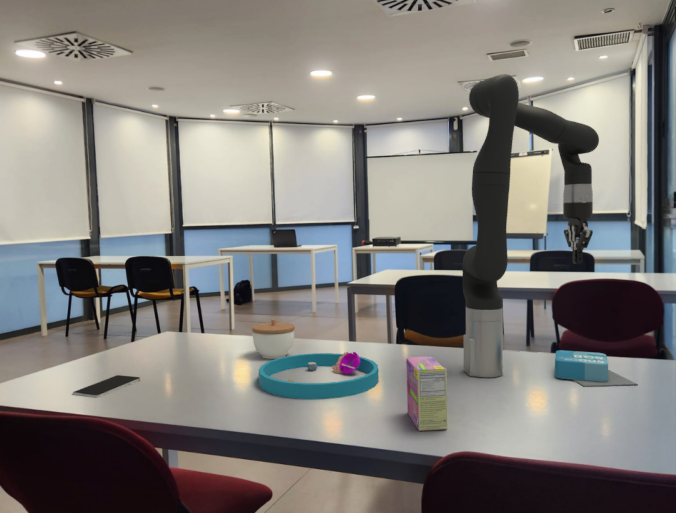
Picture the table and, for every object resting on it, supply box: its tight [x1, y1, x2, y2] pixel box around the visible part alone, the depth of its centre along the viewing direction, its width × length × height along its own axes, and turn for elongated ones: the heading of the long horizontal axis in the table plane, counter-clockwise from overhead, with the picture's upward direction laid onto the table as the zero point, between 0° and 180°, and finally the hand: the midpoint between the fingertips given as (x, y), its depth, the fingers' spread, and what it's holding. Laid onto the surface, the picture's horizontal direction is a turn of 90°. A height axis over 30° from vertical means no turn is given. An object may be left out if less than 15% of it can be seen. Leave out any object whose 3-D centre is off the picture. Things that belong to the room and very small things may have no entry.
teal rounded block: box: [554, 349, 609, 382], centre depth 141 cm, size 12×4×12 cm
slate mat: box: [572, 369, 638, 388], centre depth 138 cm, size 13×14×1 cm
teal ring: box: [258, 351, 380, 400], centre depth 140 cm, size 30×30×6 cm
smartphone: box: [72, 374, 141, 399], centre depth 137 cm, size 8×1×15 cm
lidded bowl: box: [251, 318, 296, 360], centre depth 166 cm, size 13×13×11 cm
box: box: [405, 356, 448, 432], centre depth 110 cm, size 10×6×12 cm, turn 5°
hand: (577, 263), depth 155 cm, fingers closed
